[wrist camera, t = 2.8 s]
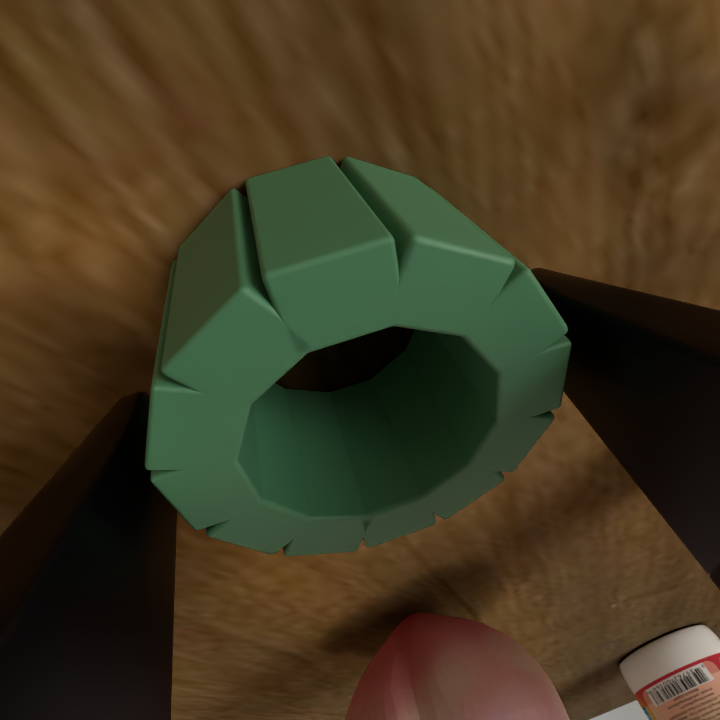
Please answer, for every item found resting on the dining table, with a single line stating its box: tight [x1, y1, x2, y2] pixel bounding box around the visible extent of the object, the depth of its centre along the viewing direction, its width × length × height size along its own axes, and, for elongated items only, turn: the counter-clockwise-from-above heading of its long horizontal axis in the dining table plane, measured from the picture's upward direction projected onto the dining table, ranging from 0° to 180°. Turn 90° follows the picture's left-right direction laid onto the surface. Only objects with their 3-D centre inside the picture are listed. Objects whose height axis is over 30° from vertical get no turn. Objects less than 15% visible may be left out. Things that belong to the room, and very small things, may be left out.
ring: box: [145, 156, 571, 556], centre depth 8 cm, size 6×6×4 cm
